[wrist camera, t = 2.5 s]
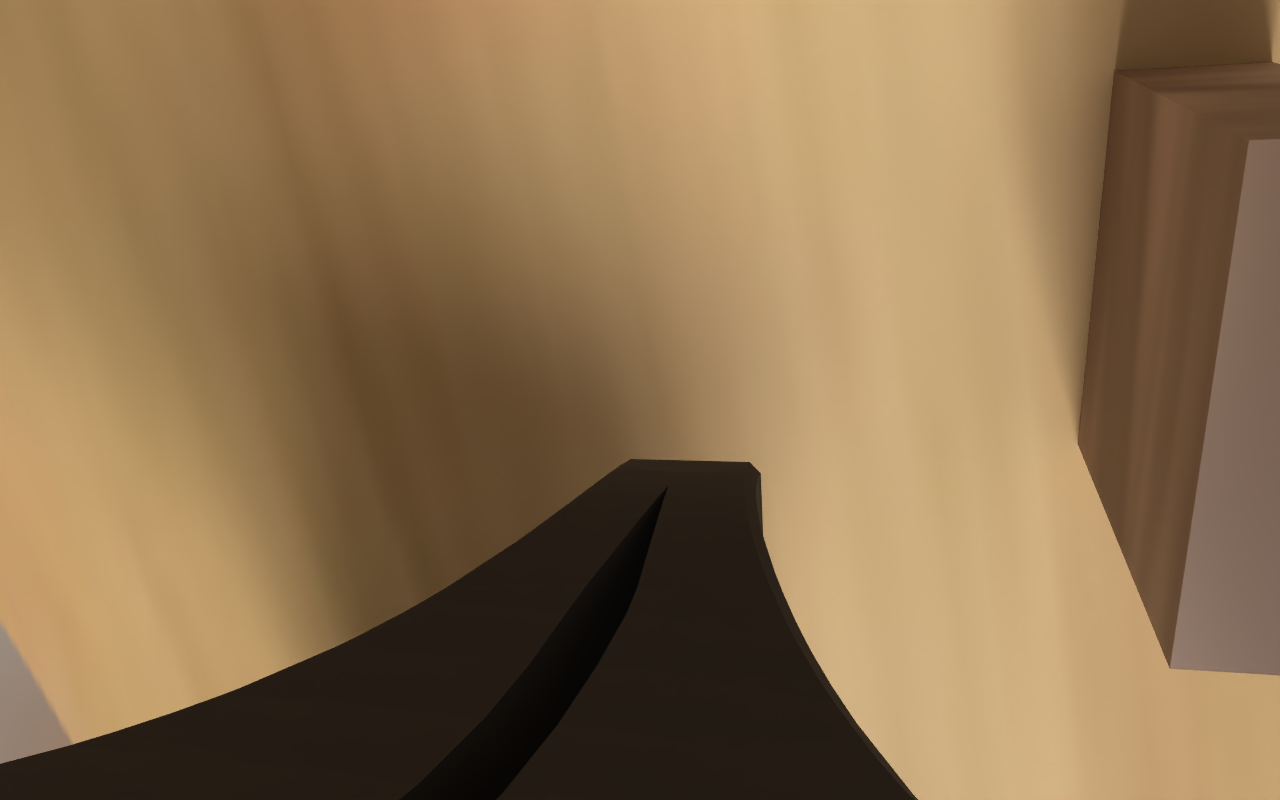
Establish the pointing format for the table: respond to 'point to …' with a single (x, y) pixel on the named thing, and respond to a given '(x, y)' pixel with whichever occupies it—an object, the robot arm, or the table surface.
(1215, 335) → the slab
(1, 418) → the table surface
